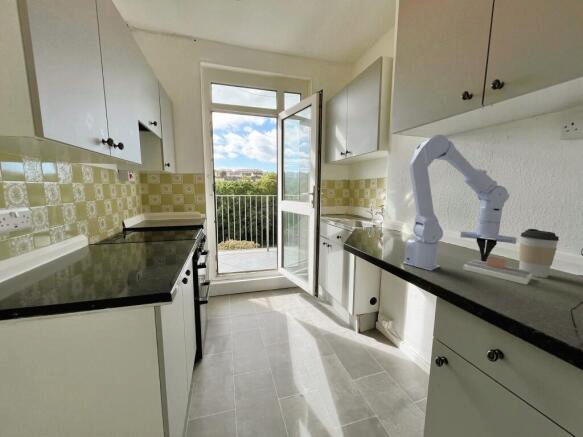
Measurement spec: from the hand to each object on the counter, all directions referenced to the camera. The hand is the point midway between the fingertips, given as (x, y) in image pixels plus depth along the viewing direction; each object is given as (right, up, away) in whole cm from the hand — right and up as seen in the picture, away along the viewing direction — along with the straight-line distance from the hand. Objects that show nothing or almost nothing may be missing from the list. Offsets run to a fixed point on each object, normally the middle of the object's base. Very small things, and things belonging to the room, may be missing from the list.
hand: (483, 260), depth 82 cm
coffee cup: (+16, -4, -1) cm, 17 cm away
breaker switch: (+2, -2, -2) cm, 4 cm away
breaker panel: (+2, -4, -2) cm, 5 cm away
